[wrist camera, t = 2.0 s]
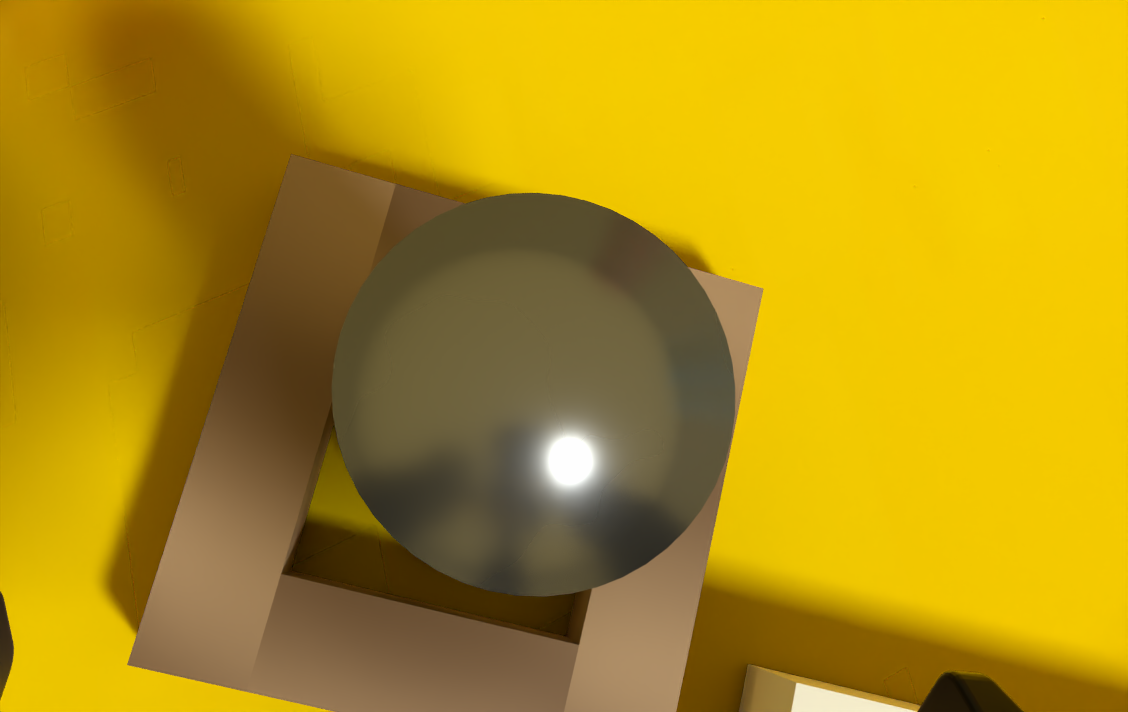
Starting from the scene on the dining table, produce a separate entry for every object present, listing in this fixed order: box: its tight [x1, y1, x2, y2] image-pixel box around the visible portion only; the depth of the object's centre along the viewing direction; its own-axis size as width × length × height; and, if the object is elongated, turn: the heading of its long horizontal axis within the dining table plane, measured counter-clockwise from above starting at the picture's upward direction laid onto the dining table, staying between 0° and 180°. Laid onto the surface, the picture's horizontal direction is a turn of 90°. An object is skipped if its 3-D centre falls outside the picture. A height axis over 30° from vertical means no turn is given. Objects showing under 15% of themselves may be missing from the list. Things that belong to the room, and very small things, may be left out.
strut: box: [332, 193, 735, 596], centre depth 14 cm, size 4×4×11 cm
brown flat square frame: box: [127, 154, 763, 712], centre depth 19 cm, size 9×9×2 cm
